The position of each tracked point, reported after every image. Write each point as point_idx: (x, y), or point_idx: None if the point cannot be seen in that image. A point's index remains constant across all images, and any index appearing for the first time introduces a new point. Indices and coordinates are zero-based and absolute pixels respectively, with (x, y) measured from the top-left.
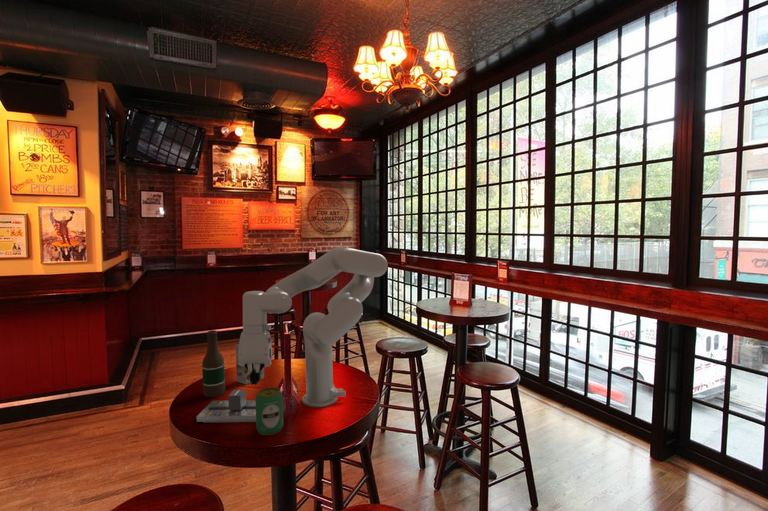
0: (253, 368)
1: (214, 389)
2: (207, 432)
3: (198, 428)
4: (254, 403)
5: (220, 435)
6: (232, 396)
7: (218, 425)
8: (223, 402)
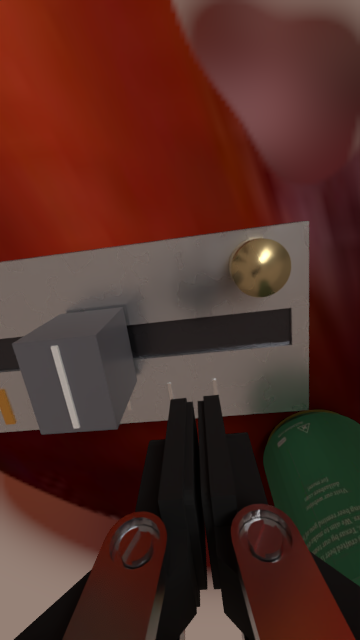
0: (171, 597)
1: None
2: (86, 475)
3: (34, 453)
4: (164, 287)
5: None
6: (69, 429)
7: (92, 431)
8: None
